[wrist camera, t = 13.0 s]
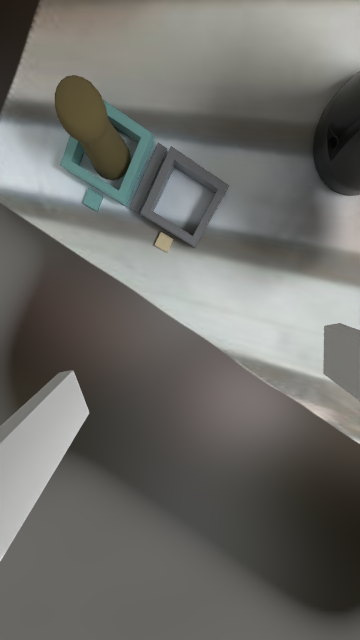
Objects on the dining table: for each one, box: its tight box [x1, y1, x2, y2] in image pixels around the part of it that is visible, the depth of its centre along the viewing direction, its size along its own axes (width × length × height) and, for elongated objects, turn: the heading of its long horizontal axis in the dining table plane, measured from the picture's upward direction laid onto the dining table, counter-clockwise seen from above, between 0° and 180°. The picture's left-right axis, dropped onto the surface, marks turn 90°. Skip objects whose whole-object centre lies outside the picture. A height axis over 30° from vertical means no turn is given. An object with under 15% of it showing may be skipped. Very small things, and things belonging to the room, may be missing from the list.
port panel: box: [61, 100, 229, 252], centre depth 30 cm, size 13×23×2 cm, turn 61°
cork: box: [55, 75, 130, 180], centre depth 25 cm, size 6×6×11 cm
